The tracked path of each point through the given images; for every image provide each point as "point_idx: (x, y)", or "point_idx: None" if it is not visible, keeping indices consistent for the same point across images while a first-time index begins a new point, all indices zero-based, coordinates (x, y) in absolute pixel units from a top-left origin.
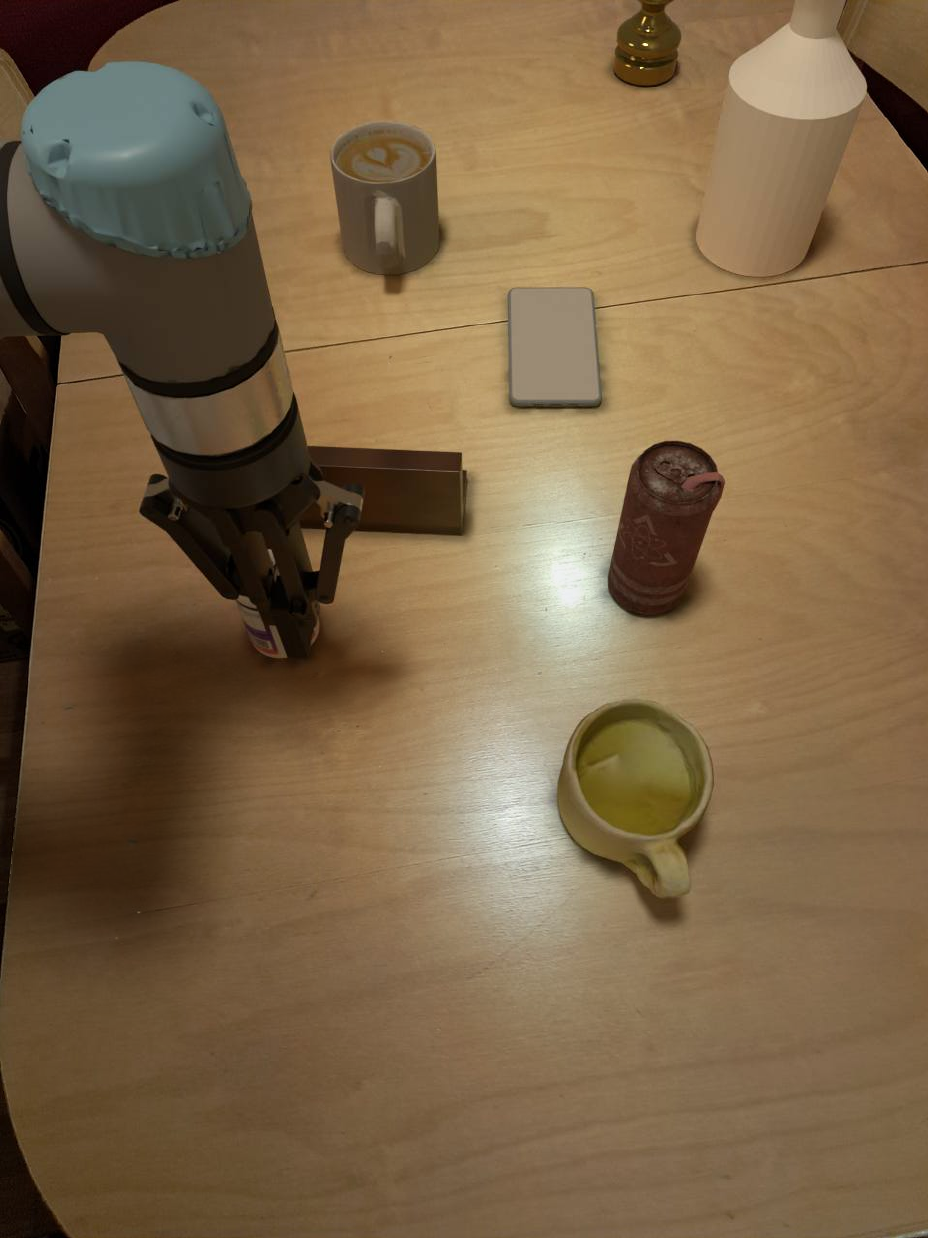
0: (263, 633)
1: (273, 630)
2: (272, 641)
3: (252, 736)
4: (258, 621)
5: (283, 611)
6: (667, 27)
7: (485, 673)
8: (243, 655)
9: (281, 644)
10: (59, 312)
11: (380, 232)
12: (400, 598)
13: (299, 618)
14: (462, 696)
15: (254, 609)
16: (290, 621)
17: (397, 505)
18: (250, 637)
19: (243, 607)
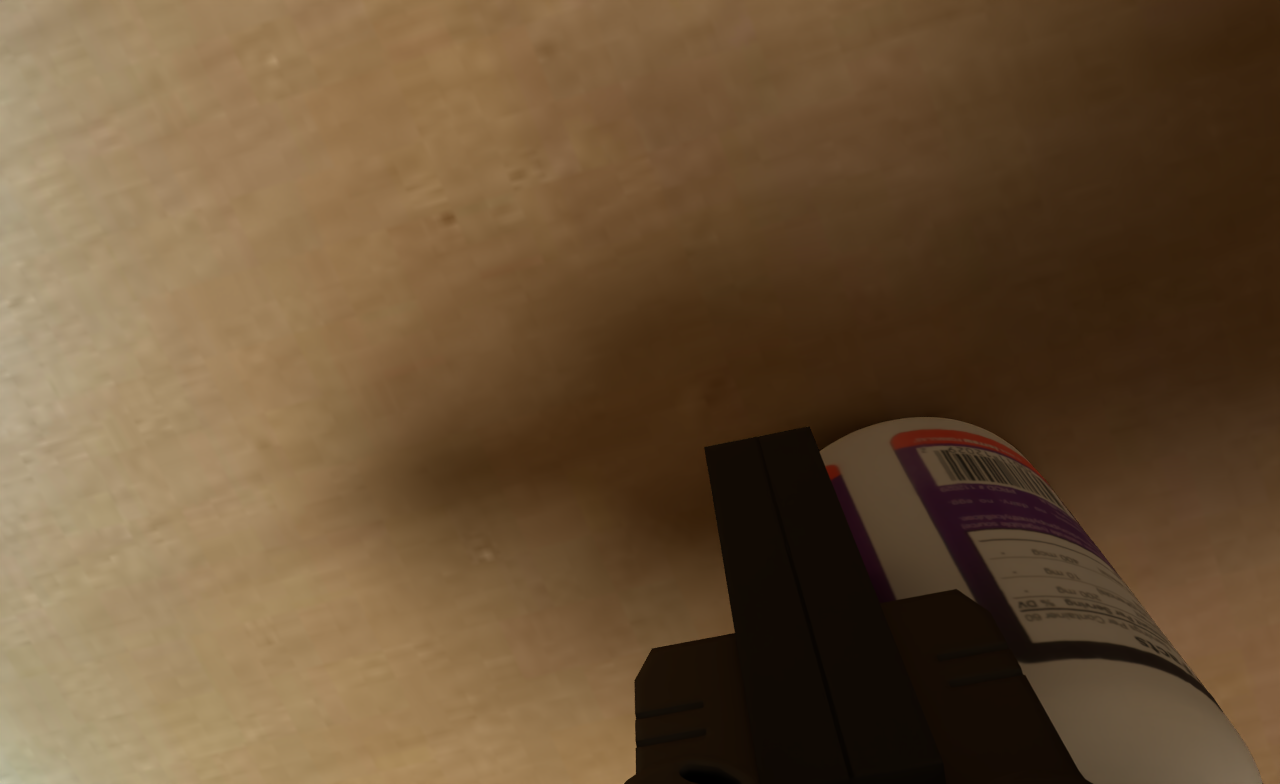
0: (978, 517)
1: (930, 546)
2: (926, 488)
3: (890, 36)
4: (1019, 578)
5: (826, 768)
6: None
7: (61, 571)
8: (1046, 394)
9: (881, 484)
10: None
11: None
12: (508, 763)
13: (741, 697)
14: (97, 460)
15: (1062, 650)
16: (776, 678)
17: None
18: (1039, 478)
19: (1128, 642)
